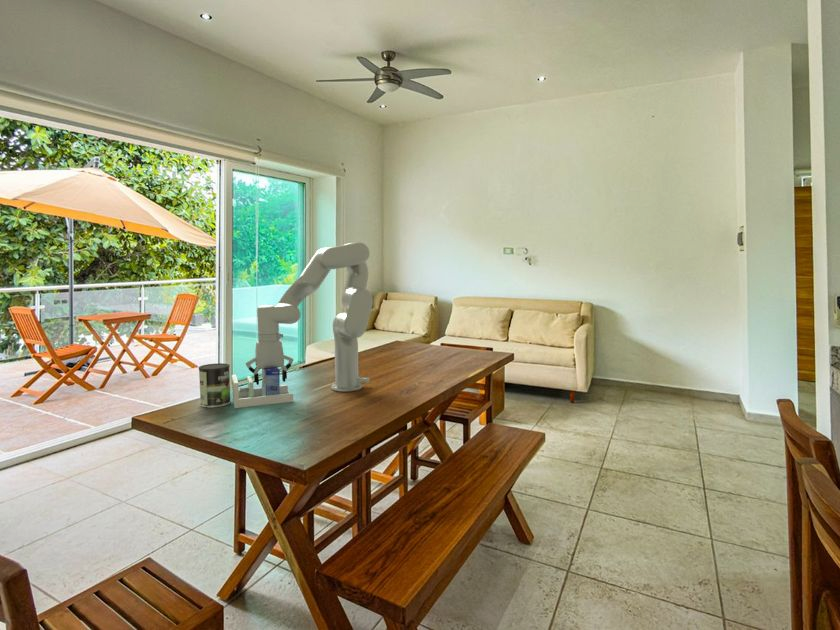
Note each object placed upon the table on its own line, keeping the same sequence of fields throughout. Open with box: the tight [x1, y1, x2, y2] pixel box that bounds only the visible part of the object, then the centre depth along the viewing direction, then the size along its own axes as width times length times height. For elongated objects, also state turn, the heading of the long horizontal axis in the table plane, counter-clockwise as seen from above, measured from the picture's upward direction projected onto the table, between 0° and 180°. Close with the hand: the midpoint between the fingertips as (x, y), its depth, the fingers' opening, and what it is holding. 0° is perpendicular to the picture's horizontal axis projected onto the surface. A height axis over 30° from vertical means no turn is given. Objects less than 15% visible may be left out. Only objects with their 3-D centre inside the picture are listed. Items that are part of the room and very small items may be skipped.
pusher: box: [239, 375, 255, 398], centre depth 171 cm, size 4×11×8 cm, turn 25°
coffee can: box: [198, 362, 231, 409], centre depth 168 cm, size 10×10×14 cm
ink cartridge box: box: [261, 367, 281, 396], centre depth 175 cm, size 10×6×14 cm, turn 27°
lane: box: [231, 374, 294, 409], centre depth 174 cm, size 20×14×9 cm
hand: (270, 382), depth 175 cm, fingers open, 9 cm apart
